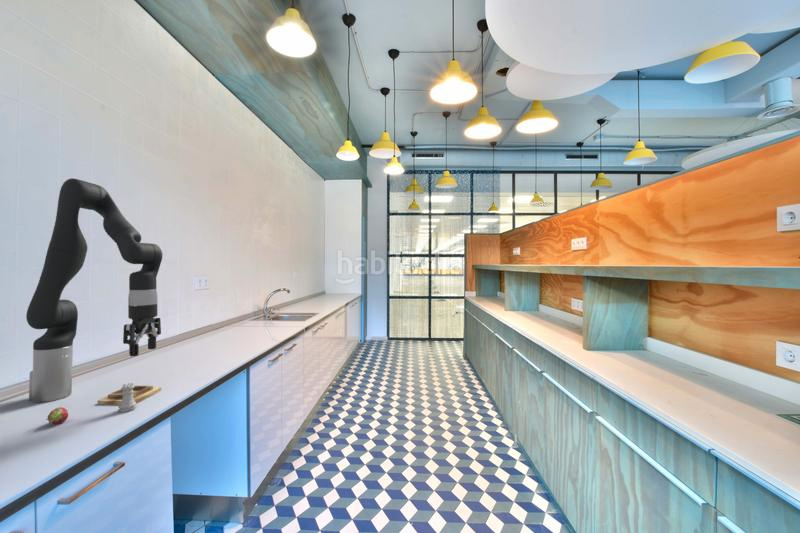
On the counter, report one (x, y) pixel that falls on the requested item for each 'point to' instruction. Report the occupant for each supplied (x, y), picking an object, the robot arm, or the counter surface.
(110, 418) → the counter surface
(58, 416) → the fruit
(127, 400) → the rook chess piece
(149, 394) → the display stand
